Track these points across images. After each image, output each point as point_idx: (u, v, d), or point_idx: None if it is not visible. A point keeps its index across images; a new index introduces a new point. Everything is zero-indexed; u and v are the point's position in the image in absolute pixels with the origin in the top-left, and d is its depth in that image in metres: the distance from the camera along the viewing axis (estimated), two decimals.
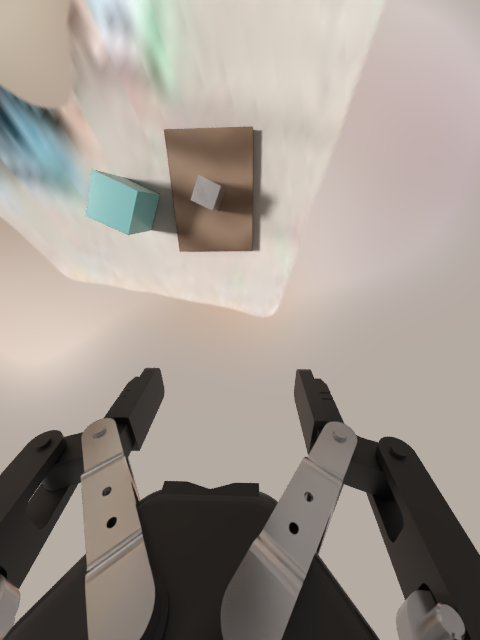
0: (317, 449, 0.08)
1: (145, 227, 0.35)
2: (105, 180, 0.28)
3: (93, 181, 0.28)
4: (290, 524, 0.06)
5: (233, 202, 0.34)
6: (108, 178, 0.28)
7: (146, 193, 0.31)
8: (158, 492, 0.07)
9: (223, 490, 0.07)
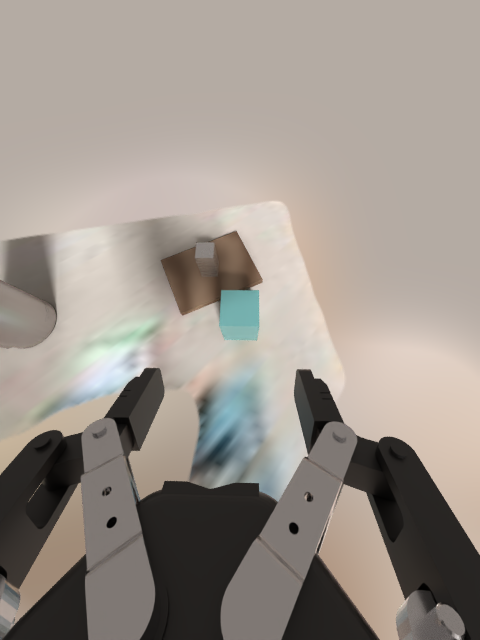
0: (317, 449, 0.08)
1: None
2: (223, 314, 0.33)
3: (227, 323, 0.32)
4: (290, 524, 0.06)
5: None
6: (221, 312, 0.33)
7: None
8: (158, 492, 0.07)
9: (223, 490, 0.07)
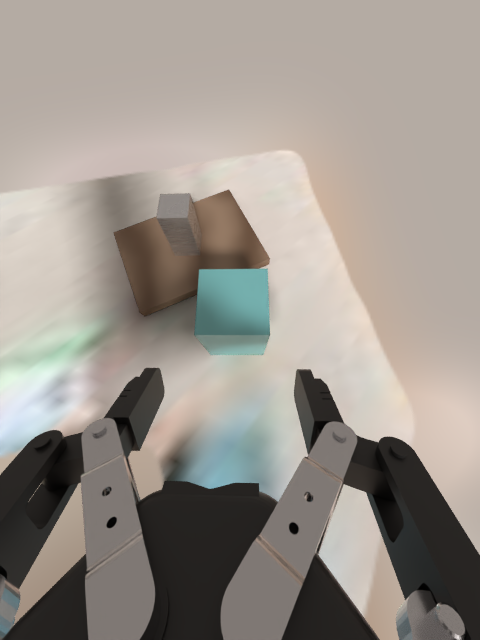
0: (317, 449, 0.08)
1: None
2: (202, 313, 0.17)
3: (210, 329, 0.17)
4: (290, 524, 0.06)
5: None
6: (198, 309, 0.18)
7: None
8: (158, 492, 0.07)
9: (223, 489, 0.07)
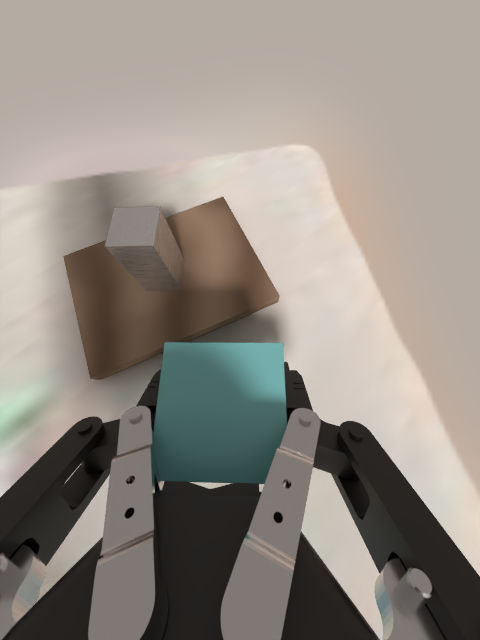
0: (287, 437, 0.09)
1: None
2: (164, 432, 0.10)
3: (178, 470, 0.09)
4: (290, 524, 0.06)
5: None
6: (157, 424, 0.10)
7: None
8: (158, 492, 0.07)
9: (223, 490, 0.07)
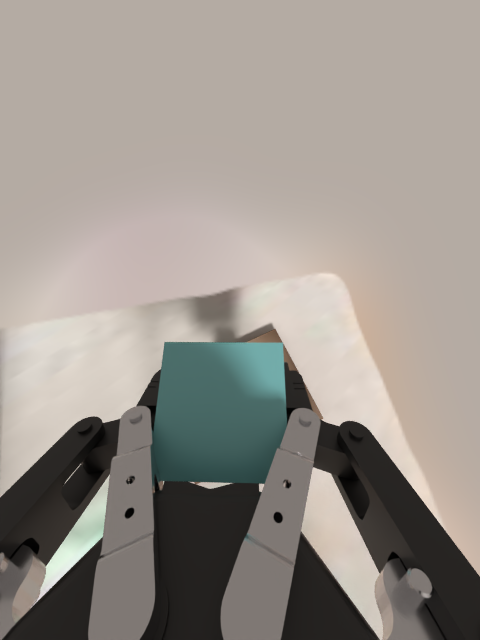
0: (287, 437, 0.09)
1: None
2: (164, 432, 0.10)
3: (178, 469, 0.09)
4: (290, 524, 0.06)
5: None
6: (157, 424, 0.10)
7: None
8: (158, 492, 0.07)
9: (224, 490, 0.07)
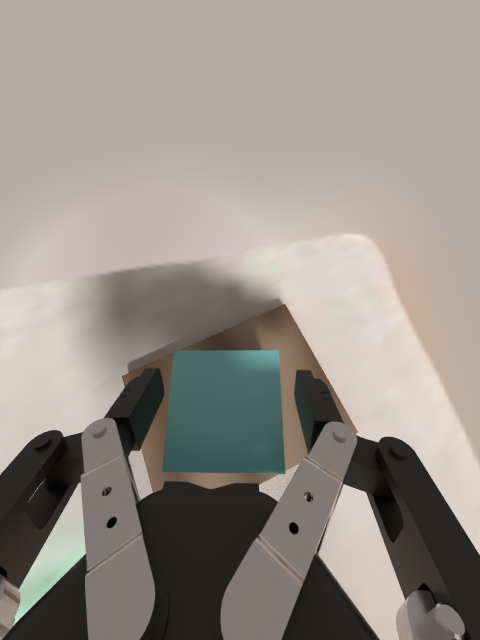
0: (317, 449, 0.08)
1: None
2: (176, 430, 0.11)
3: (188, 462, 0.10)
4: (290, 524, 0.06)
5: None
6: (169, 423, 0.11)
7: None
8: (158, 492, 0.07)
9: (224, 490, 0.07)
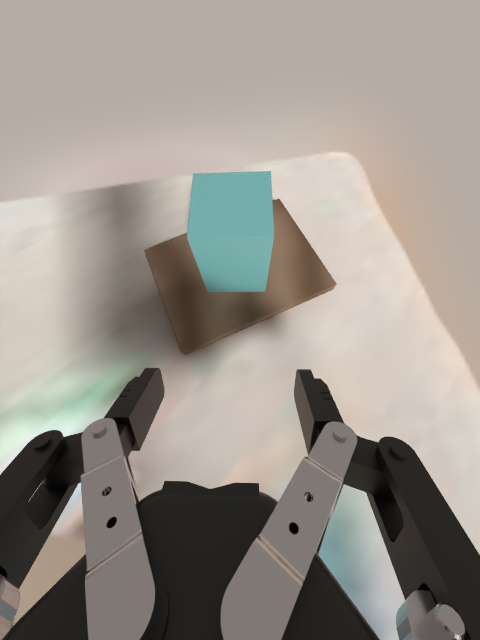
0: (317, 449, 0.08)
1: None
2: (196, 215, 0.15)
3: (205, 231, 0.15)
4: (290, 524, 0.06)
5: None
6: (191, 212, 0.15)
7: None
8: (158, 492, 0.07)
9: (224, 490, 0.07)
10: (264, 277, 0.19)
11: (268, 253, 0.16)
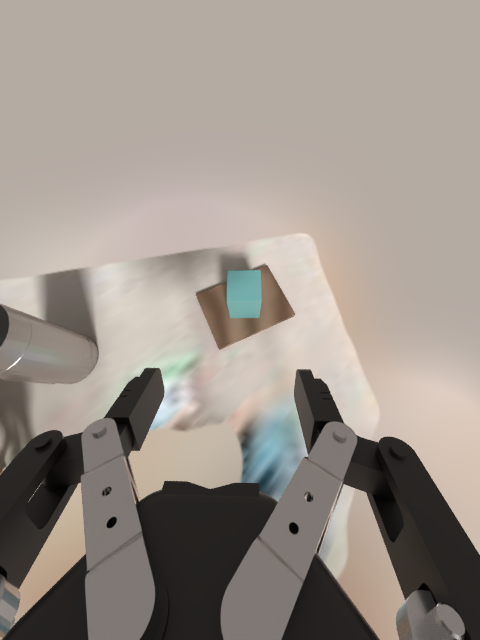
0: (317, 449, 0.08)
1: None
2: (229, 291, 0.37)
3: (234, 298, 0.36)
4: (290, 524, 0.06)
5: None
6: (227, 289, 0.37)
7: None
8: (158, 492, 0.07)
9: (223, 489, 0.07)
10: (258, 312, 0.41)
11: (259, 305, 0.38)
